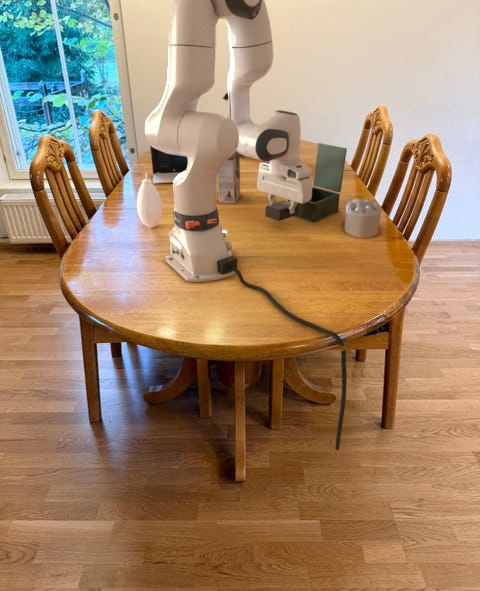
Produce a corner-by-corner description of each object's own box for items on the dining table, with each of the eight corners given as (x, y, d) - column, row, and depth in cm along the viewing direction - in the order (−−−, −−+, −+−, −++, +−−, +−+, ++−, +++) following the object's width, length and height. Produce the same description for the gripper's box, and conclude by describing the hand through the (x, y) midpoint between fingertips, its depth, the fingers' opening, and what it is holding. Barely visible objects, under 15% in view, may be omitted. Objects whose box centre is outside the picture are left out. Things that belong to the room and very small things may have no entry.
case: (313, 222, 159) (315, 203, 156) (287, 213, 166) (288, 196, 163) (338, 211, 168) (339, 193, 164) (312, 203, 174) (313, 186, 171)
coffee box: (223, 194, 184) (222, 151, 176) (240, 195, 183) (240, 152, 175) (218, 202, 177) (216, 158, 169) (235, 203, 176) (234, 158, 167)
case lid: (345, 148, 157) (354, 147, 161) (318, 143, 164) (326, 142, 167) (339, 192, 164) (347, 190, 167) (313, 185, 171) (321, 183, 174)
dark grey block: (279, 221, 152) (279, 210, 150) (265, 216, 156) (265, 205, 154) (298, 214, 157) (298, 204, 155) (284, 210, 161) (284, 199, 159)
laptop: (152, 184, 196) (149, 151, 189) (153, 175, 207) (149, 144, 200) (197, 182, 198) (195, 149, 191) (195, 173, 209) (193, 142, 202)
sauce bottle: (140, 232, 154) (133, 176, 145) (138, 223, 160) (131, 169, 151) (165, 229, 155) (160, 173, 146) (162, 220, 162) (157, 166, 153)
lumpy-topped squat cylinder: (376, 222, 158) (379, 196, 154) (379, 238, 147) (383, 211, 143) (343, 221, 160) (346, 195, 155) (344, 237, 149) (347, 209, 144)
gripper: (252, 162, 153) (252, 204, 160) (303, 175, 141) (300, 220, 147) (266, 159, 157) (265, 200, 164) (316, 171, 144) (313, 215, 151)
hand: (282, 210), depth 156 cm, fingers closed on dark grey block, 6 cm apart
